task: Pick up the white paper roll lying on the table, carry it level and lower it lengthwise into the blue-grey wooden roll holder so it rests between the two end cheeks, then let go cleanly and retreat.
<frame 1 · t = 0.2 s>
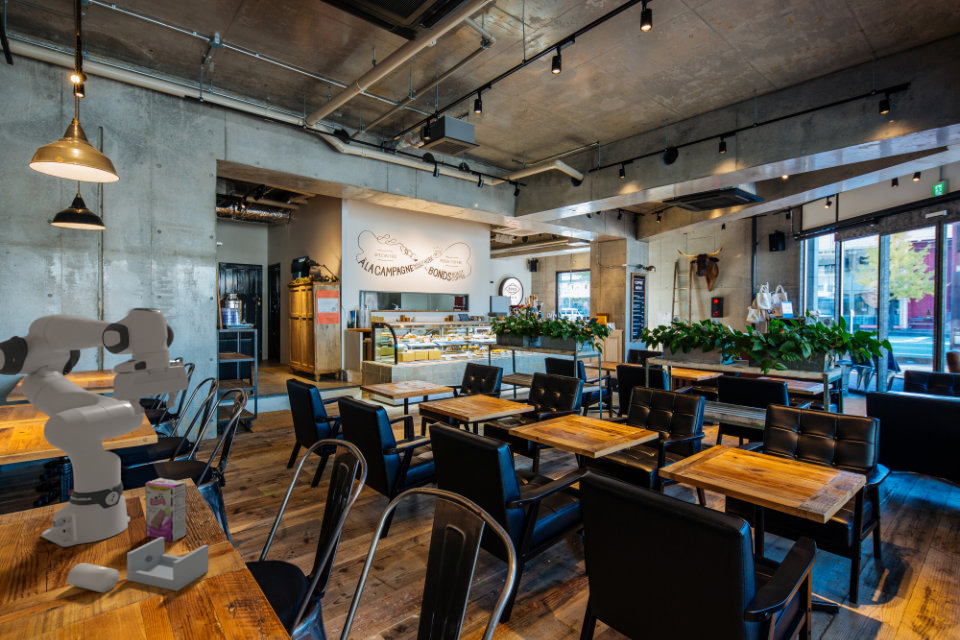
hand: (155, 410, 135), 39 cm above the table, tool pointing down, fingers open, 8 cm apart
roll: (93, 587, 115), on the table
holder: (168, 575, 120), on the table
candy bar box: (166, 537, 141), on the table
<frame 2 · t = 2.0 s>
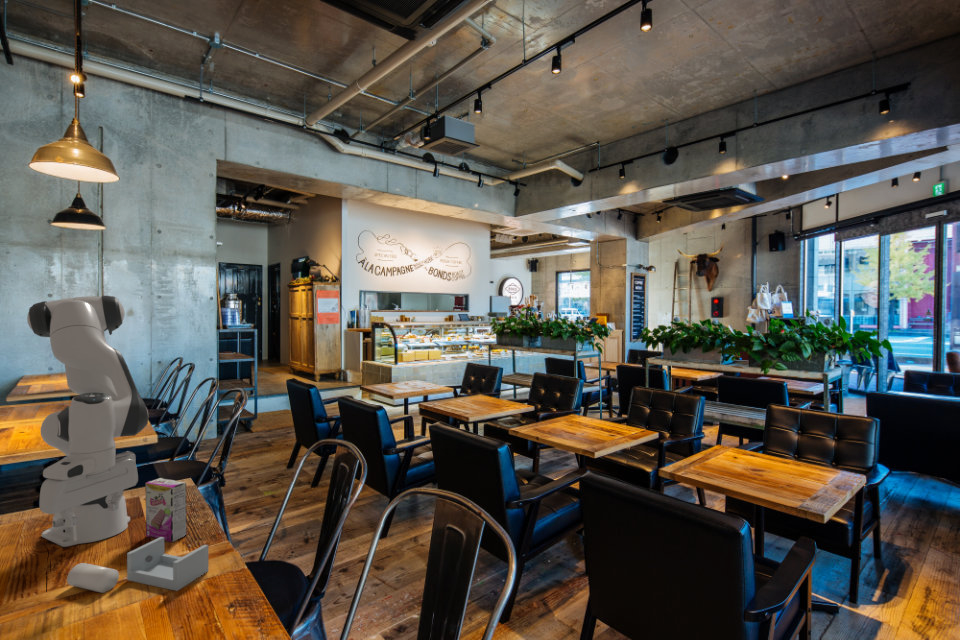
hand: (93, 517, 114), 17 cm above the table, tool pointing down, fingers open, 8 cm apart
nothing on the table moved.
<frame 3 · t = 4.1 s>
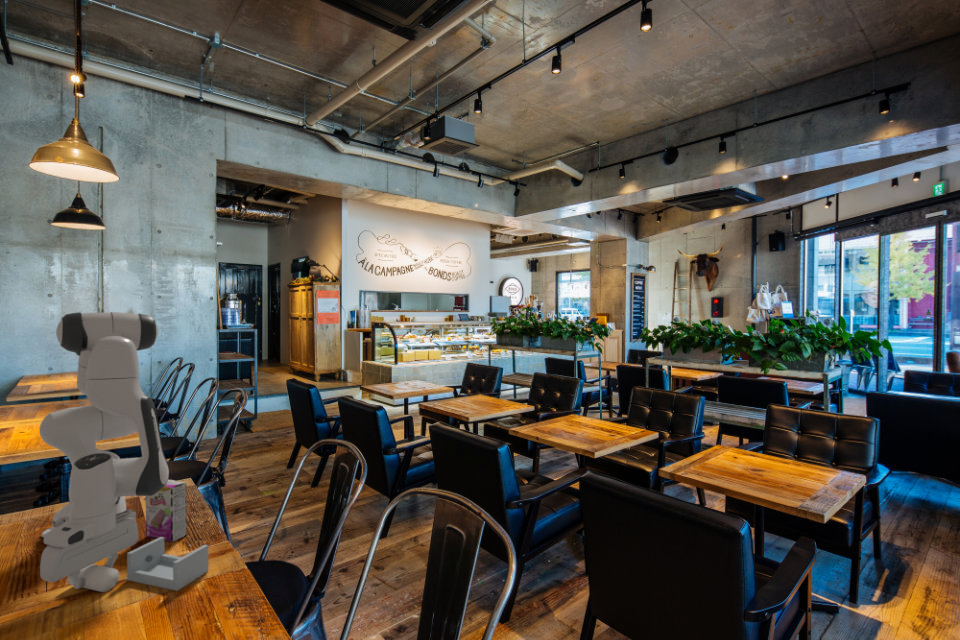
hand: (93, 579, 115), 2 cm above the table, tool pointing down, fingers closed on roll, 5 cm apart
roll: (93, 587, 115), on the table, touching gripper
everything else where it was.
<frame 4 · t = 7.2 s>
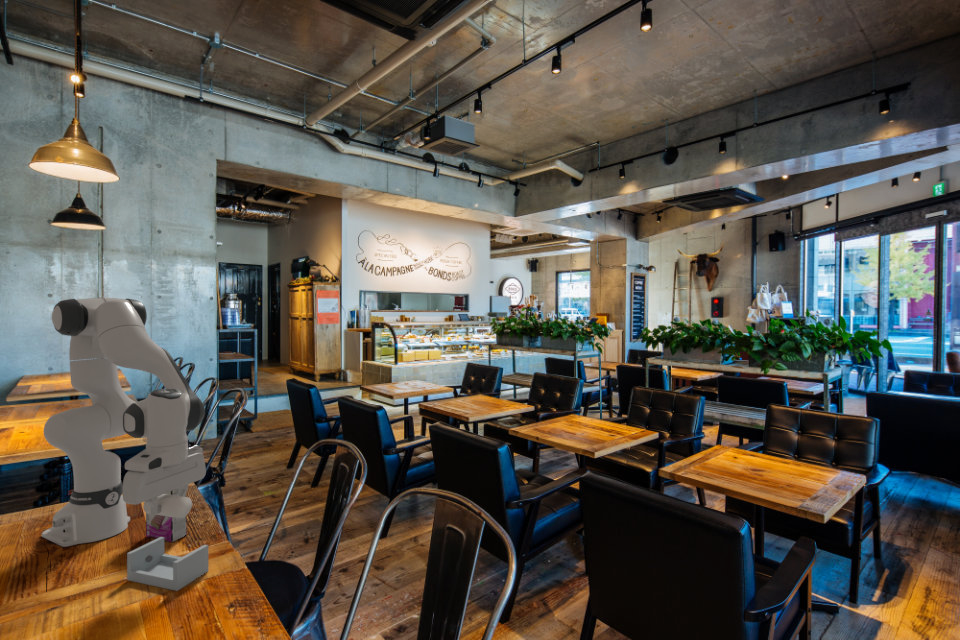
hand: (167, 508, 119), 17 cm above the table, tool pointing down, fingers closed on roll, 5 cm apart
roll: (167, 515, 119), point 16 cm above the table, touching gripper
everything else where it was.
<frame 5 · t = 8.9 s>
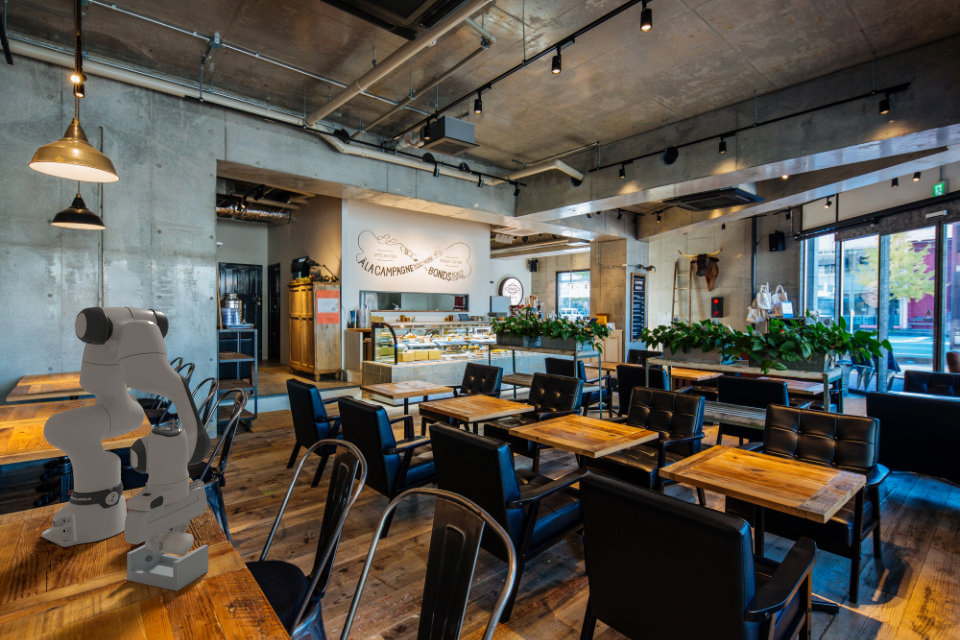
hand: (169, 544, 119), 8 cm above the table, tool pointing down, fingers closed on roll, 5 cm apart
roll: (169, 551, 119), point 6 cm above the table, touching gripper
everything else where it was.
when the fingers open (4 cm above the table, at t = 10.2 s): roll drops 1 cm, resting on holder.
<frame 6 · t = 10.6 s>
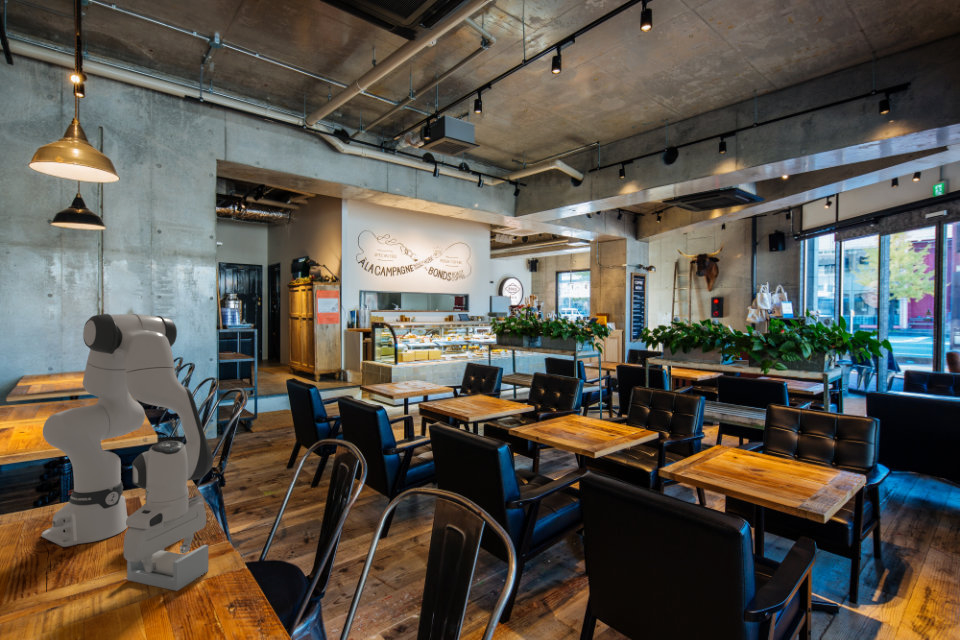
hand: (168, 561, 120), 4 cm above the table, tool pointing down, fingers open, 8 cm apart
roll: (168, 572, 120), point 1 cm above the table, tilted 6°, touching holder
everything else where it was.
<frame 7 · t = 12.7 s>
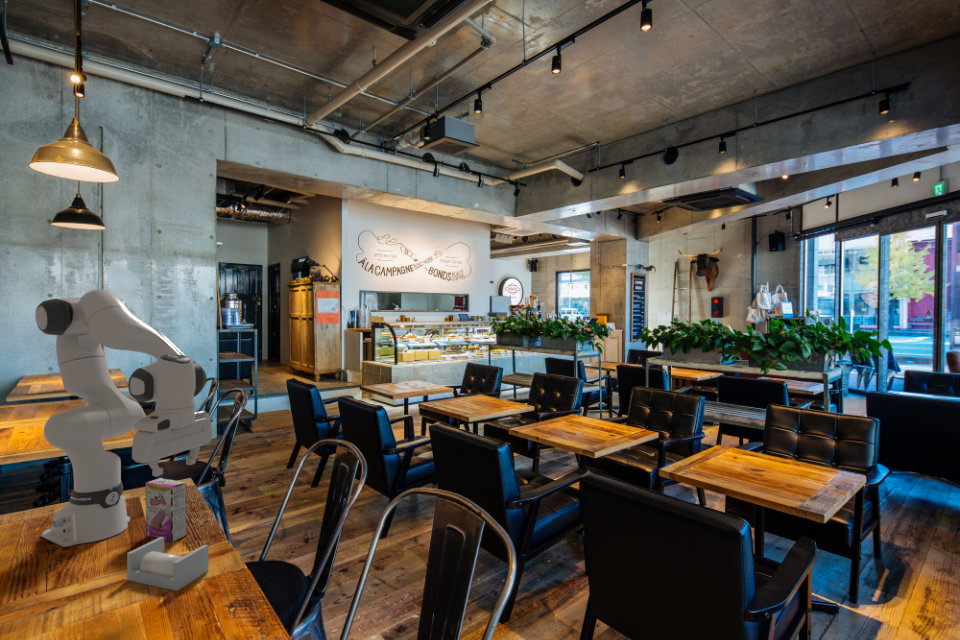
hand: (174, 469, 123), 26 cm above the table, tool pointing down, fingers open, 8 cm apart
roll: (168, 571, 120), point 1 cm above the table, tilted 27°, touching holder
everything else where it was.
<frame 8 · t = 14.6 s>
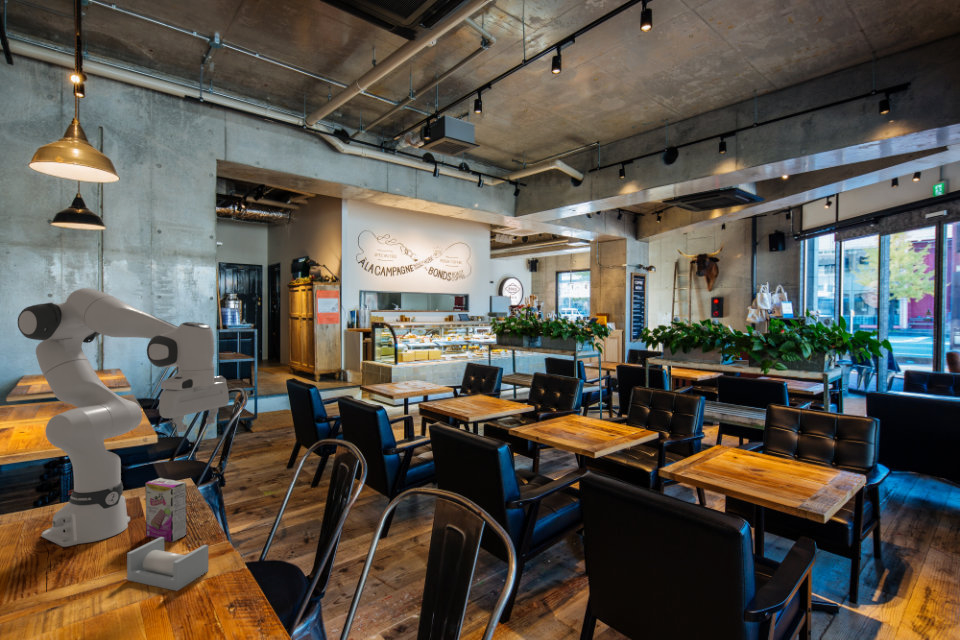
hand: (196, 427, 134), 34 cm above the table, tool pointing down, fingers open, 8 cm apart
roll: (168, 572, 120), point 1 cm above the table, tilted 9°, touching holder
everything else where it was.
at the end: roll 0.1 cm off-centre on the holder, point 0.8 cm above the holder's base; the gripper is holding nothing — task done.
